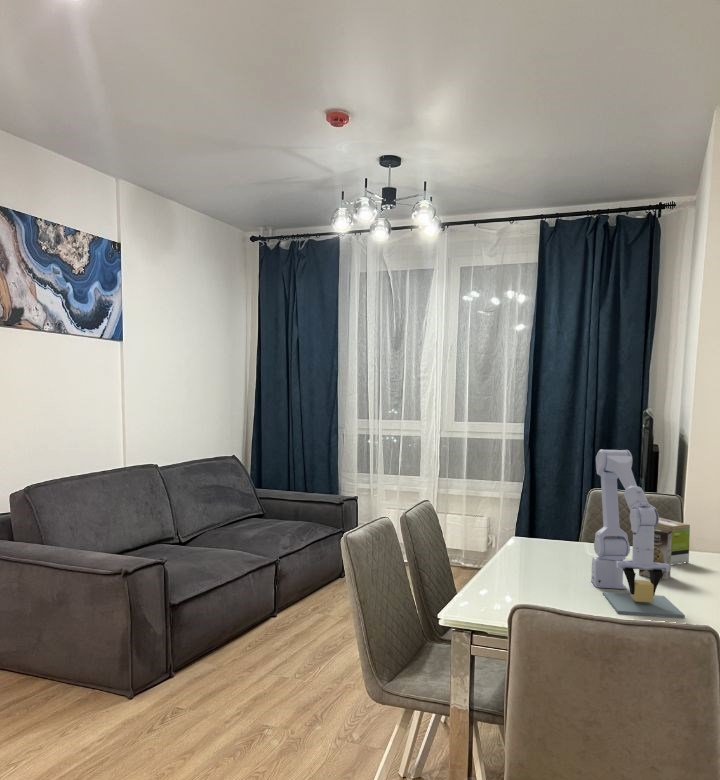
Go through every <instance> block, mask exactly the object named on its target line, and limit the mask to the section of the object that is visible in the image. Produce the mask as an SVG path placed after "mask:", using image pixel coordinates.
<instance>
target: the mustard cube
mask: <svg viewBox="0 0 720 780" xmlns="http://www.w3.org/2000/svg"><path fill="white" fill-rule="evenodd" d="M630 594H631V593H630ZM653 595H654V585H653V584H652V583H651V582H650V579H649V580H647V579H646V580H645V579H635V582H634V595H633V594H631V597H632V598H633V599H634V600H635V601H638V602H653Z"/></svg>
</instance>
